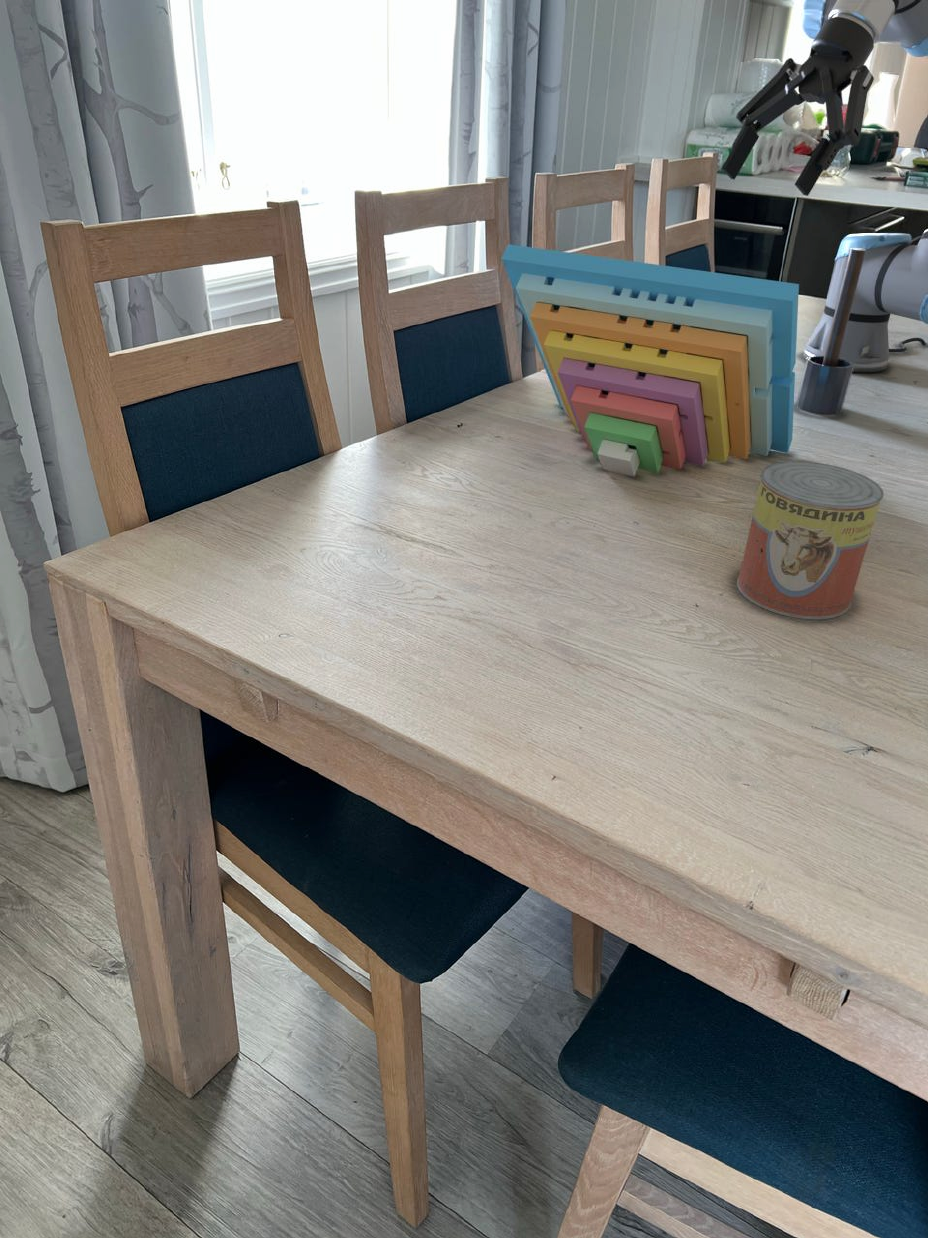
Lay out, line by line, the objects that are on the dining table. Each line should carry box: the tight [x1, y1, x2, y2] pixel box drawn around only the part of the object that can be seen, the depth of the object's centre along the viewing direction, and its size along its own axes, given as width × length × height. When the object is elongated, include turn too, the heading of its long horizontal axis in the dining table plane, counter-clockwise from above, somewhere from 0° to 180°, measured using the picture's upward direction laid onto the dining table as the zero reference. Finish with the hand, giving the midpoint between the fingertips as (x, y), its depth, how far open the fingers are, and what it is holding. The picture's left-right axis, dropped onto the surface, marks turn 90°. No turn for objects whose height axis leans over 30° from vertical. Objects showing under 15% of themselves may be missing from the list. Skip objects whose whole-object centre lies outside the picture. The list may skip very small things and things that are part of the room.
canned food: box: [736, 460, 885, 621], centre depth 93 cm, size 11×11×12 cm
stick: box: [822, 248, 866, 367], centre depth 145 cm, size 2×2×24 cm
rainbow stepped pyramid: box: [501, 243, 800, 478], centre depth 123 cm, size 35×18×35 cm
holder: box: [795, 356, 854, 416], centre depth 149 cm, size 7×7×8 cm
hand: (763, 182), depth 131 cm, fingers open, 13 cm apart
